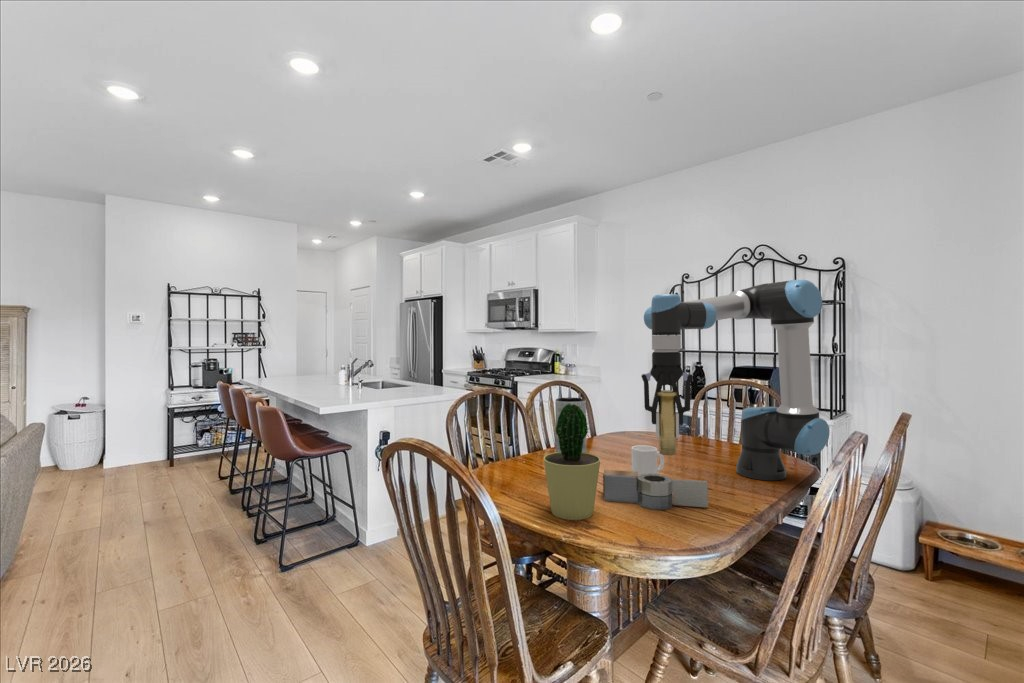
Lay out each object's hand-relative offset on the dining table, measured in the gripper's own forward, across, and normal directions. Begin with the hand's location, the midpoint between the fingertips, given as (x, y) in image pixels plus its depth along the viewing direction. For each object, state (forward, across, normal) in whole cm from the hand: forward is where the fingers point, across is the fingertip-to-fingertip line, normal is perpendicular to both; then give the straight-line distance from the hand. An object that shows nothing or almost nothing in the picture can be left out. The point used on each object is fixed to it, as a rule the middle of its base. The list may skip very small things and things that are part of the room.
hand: (667, 436), depth 130 cm
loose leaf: (+20, -1, -4) cm, 20 cm away
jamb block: (+20, +13, -8) cm, 25 cm away
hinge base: (+20, +8, -5) cm, 22 cm away
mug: (+21, +4, -30) cm, 36 cm away
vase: (+20, +29, -21) cm, 41 cm away
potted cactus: (+20, +26, +7) cm, 33 cm away
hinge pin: (+5, 0, 0) cm, 5 cm away
